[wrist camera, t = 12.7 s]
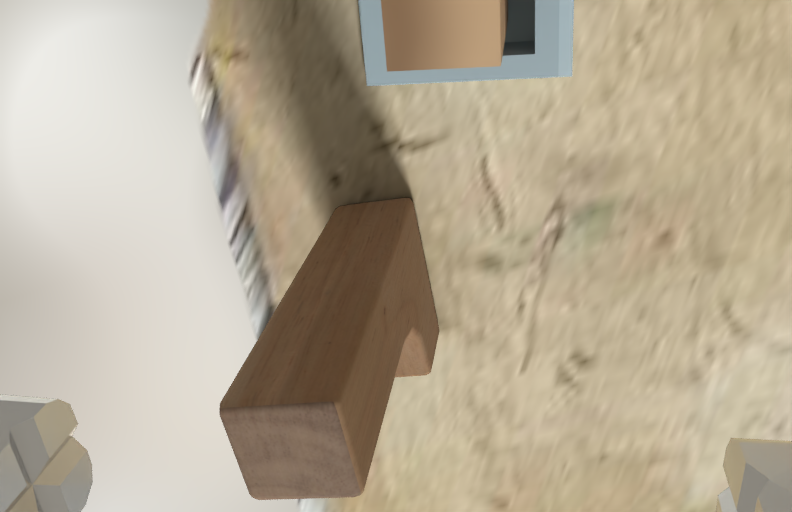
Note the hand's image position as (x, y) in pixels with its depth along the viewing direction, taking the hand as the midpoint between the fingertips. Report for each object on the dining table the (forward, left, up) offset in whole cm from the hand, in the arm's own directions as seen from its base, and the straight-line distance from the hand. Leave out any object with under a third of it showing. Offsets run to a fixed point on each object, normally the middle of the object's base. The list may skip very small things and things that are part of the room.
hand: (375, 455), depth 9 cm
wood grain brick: (+1, -3, -29) cm, 29 cm away
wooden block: (+6, +13, -30) cm, 33 cm away
